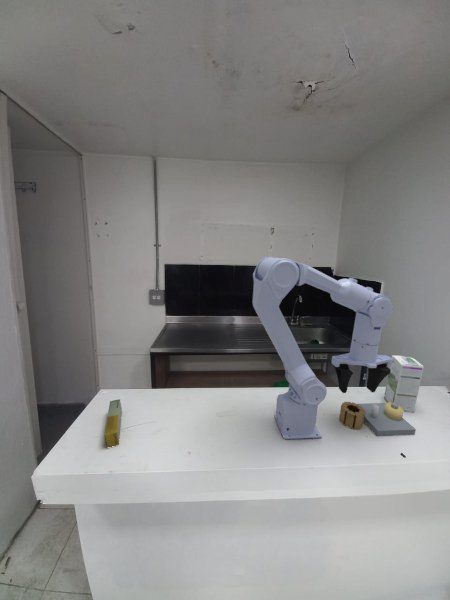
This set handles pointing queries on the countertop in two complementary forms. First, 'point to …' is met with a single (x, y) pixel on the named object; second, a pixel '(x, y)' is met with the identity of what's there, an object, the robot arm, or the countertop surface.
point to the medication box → (113, 424)
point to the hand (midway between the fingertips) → (356, 390)
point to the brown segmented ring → (352, 415)
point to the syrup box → (404, 382)
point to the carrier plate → (386, 419)
